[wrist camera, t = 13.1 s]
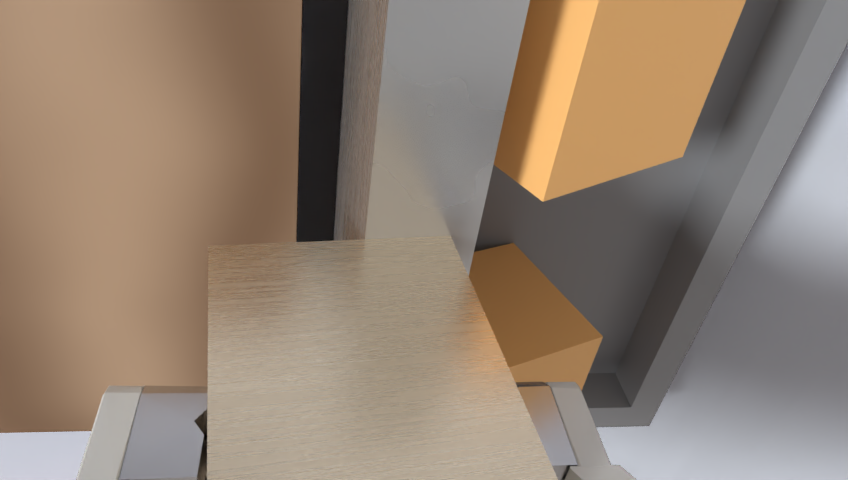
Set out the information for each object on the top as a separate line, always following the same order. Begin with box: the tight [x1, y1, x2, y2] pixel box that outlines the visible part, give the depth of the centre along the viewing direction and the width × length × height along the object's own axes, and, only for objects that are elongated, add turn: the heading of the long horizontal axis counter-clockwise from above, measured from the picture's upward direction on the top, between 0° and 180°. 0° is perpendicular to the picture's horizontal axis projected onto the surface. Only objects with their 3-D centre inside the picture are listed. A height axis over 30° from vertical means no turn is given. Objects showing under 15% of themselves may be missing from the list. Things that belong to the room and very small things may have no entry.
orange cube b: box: [469, 243, 603, 391], centre depth 18 cm, size 4×4×4 cm
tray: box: [333, 0, 848, 427], centre depth 18 cm, size 11×18×2 cm, turn 172°
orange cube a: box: [494, 0, 746, 202], centre depth 13 cm, size 4×4×4 cm
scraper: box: [207, 0, 558, 480], centre depth 12 cm, size 4×16×8 cm, turn 173°
